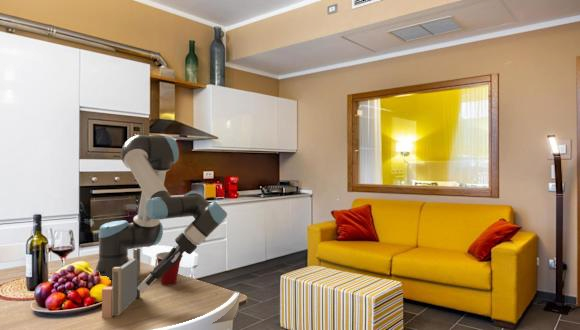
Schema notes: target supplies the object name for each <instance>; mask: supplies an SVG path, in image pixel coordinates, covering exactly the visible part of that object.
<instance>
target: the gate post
mask: <svg viewBox="0 0 580 330" xmlns="http://www.w3.org/2000/svg"><path fill="white" fill-rule="evenodd" d="M132 254H133V256H132V257H133V258H132V259H137V287H138V286H139V285H140V284H141V248H133V250H132ZM140 298H141V292H140V291H139V290H138V289H137V297H136V298H135V299H134V300H138V299H140Z"/></svg>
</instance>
